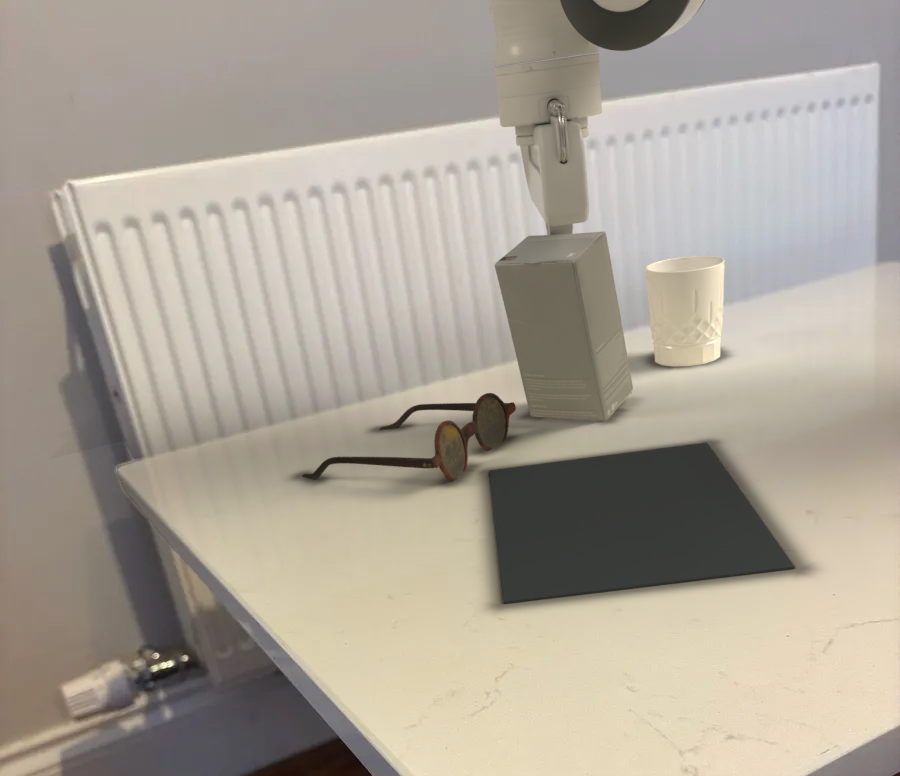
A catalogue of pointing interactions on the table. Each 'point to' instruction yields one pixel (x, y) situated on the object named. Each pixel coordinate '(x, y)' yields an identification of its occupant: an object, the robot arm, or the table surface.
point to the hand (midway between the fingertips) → (561, 264)
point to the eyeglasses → (446, 437)
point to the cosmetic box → (566, 325)
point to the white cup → (686, 309)
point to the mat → (625, 524)
